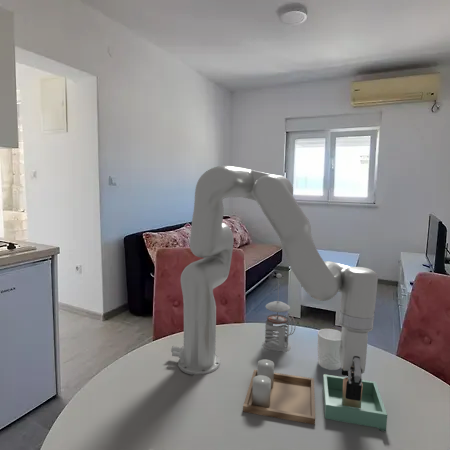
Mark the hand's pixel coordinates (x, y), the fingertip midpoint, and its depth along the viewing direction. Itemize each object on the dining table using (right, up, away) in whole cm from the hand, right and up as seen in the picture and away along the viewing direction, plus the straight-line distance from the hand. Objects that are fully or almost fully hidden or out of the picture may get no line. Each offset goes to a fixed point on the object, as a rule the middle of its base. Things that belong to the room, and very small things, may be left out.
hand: (350, 386), depth 81 cm
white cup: (+1, -3, +20) cm, 20 cm away
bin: (0, -5, 0) cm, 5 cm away
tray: (-16, -5, +3) cm, 17 cm away
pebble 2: (-22, -4, +1) cm, 22 cm away
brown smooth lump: (0, -5, 0) cm, 5 cm away
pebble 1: (-20, -3, +8) cm, 22 cm away
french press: (-13, -2, +31) cm, 34 cm away
